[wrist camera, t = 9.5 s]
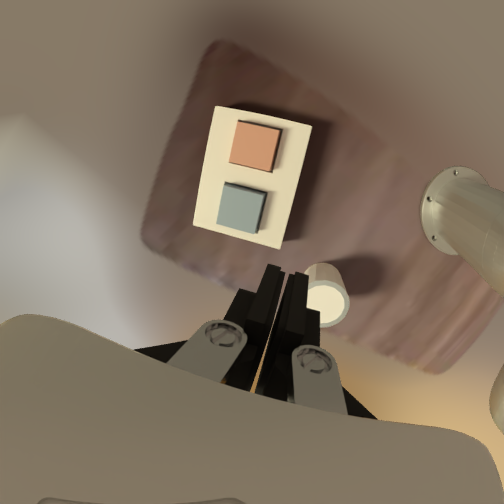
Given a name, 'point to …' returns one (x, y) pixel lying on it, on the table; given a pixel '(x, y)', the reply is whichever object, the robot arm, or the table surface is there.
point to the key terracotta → (254, 146)
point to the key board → (252, 174)
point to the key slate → (240, 208)
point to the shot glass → (327, 293)
